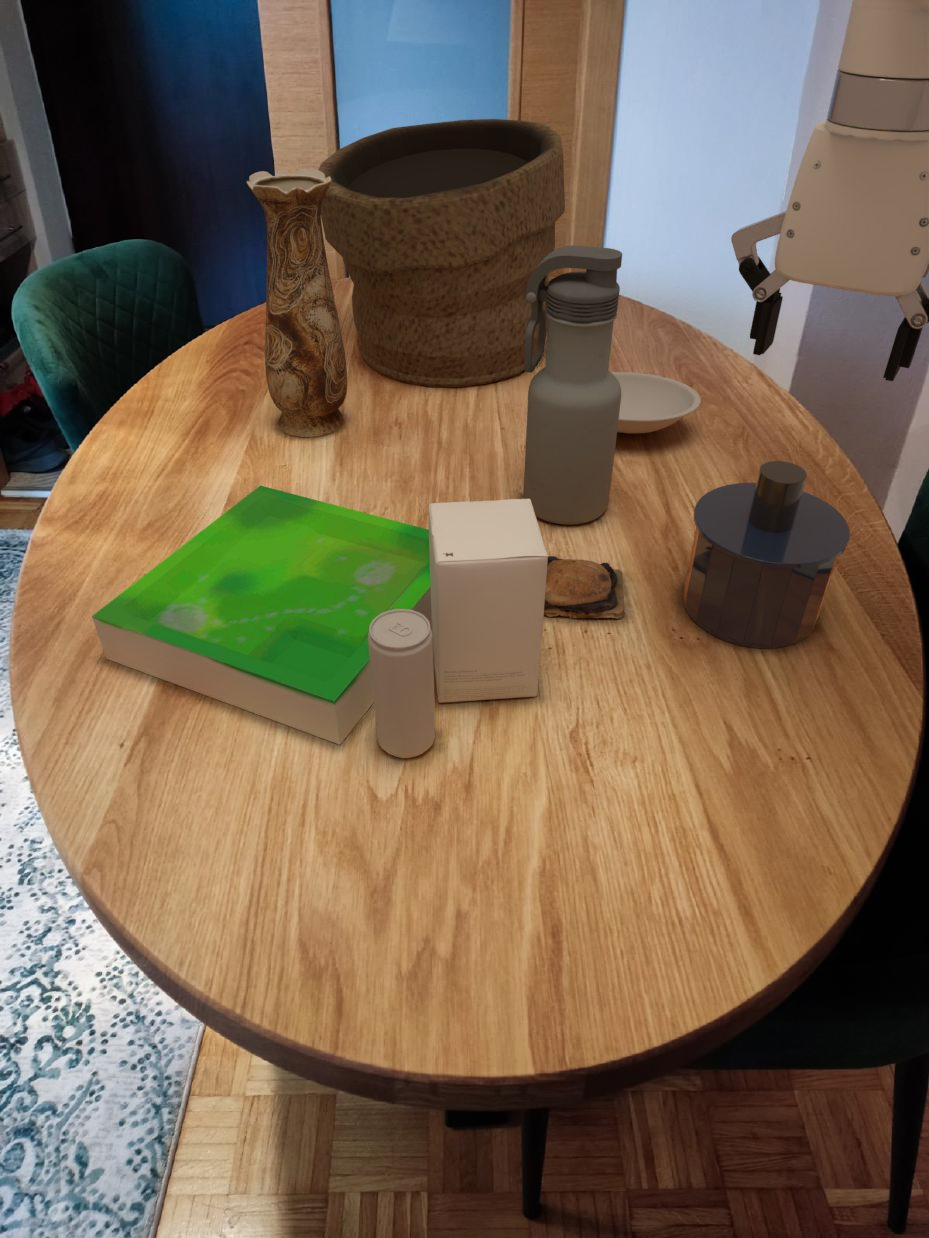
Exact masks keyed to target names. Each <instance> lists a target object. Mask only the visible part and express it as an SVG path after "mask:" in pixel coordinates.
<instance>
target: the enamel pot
mask: <svg viewBox="0 0 929 1238" xmlns="http://www.w3.org/2000/svg"><path fill="white" fill-rule="evenodd" d="M838 557H839V556H838ZM838 557H836V558H835V559H833V560H831V561H829V562H827V563H824V564H821V565H817V566H812V567H805V568H777V567H768V566H763V565H758V564H754V563H750V562H747V561H744V560H741V559H738V558H735V557H733V556H731V555H728V554H726V553H724V552H722V551H721V550H719V549H717V548H716V547H714V546H713V545H711V544H710V543H709V542H708V541H706V540H705V539H704V537H703V536H702V535H701V534H700V533H699V531H698V530H697V528H696V527H695V530H694V534H693V540H692V545H691V551H690V556H689V561H688V567H687V571H686V576H685V581H684V586H683V604H684V609H685V611H686V613H687V614H688V616H689V618H690V619H691V620H692V621H693V622H694V623H695V624H696V625H697V626H698V627H699V628H701V629H702V630H704V632H706V633H708V634H710V635H711V636H712V637H715V638H717V639H719V640H722V641H724V642H726V643H730V644H734V645H737V646H741V647H746V648H751V649H779V648H784V647H788V646H792V645H795V644H797V643H799V642H801V641H803V640H804V639H806V638H807V637H808V636H809V635H810V634H811V633H812V632H813V630H814V628H815V627H816V623H817V621H818V618H819V616H820V614H821V609H822V607H823V604H824V600H825V598H826V595H827V592H828V588H829V586H830V583H831V580H832V576H833V573H834V570H835V567H836V563H837V561H838Z"/></svg>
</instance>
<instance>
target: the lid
mask: <svg viewBox="0 0 929 1238" xmlns="http://www.w3.org/2000/svg"><path fill="white" fill-rule="evenodd" d="M807 477H808V473H807V471H806V470H805V469H804V468H803V467H801V466H800V465H798V464H795V463H793V462H790V461H783V460H771V461H766V462H764V463H762V464H761V465H760V467H759V469H758V474H757V477H756V482H738V483H737V482H736V483H731V484H726V485H721V486H719V487H717V488H714V489H711V490H710V491H708V492H706V493H705V494H703V495H702V496H701V497H700V498H699V499H698V500H697V502H696V503H695V506H694V510H693V523H694V526H695V529H696V528H697V530H698V531H699V533H700V534H701V535H702V536H703V537H704V539H705V540H706V541H708V542H709V543H710V544H711V545H713V546H714V547H716V548H717V549H719V550H721V551H722V552H724V553H726V554H728V555H731V556H733V557H735V558H738V559H741V560H744V561H747V562H750V563H754V564H758V565H763V566H768V567H777V568H805V567H812V566H817V565H821V564H824V563H827V562H829V561H831V560H833V559H835V558H836V557H839V556H841V555H842V553H844V551H845V550H846V549H847V547H848V545H849V541H850V538H851V530H850V526H849V524H848V522H847V520H846V518H845V517H844V516H843V515H842V513H840V512H839V511H838V510H837V509H836V508H835V507H834V506H833V505H831V504H830V503H828V502H826V501H825V500H823V499H821V498H820V497H817V496H815V495H814V494H811V493H808V492H806V491H804V490H805V485H806V481H807Z"/></svg>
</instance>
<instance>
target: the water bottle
mask: <svg viewBox="0 0 929 1238" xmlns="http://www.w3.org/2000/svg"><path fill="white" fill-rule="evenodd" d="M622 260H623V252H621V251H620V250H618V249H615V248H612V247H611V248H610V247H597V246H596V247H595V246H587V245H565V246H562V247H558V248H556V249H554V251H552V252H551V253H549V254H548V255H547V256H546V257H545V258H544V259H543V260H542V261H541V263H540V264H539V265H538V266H537V267H536V269H535V270H534V272H533V273H532V274H531V276H530V278H529V281H528V283H527V289H526V300H527V301H528V302H529V303H532V308H531V321H530V322H529V324H528V326H527V331H526V340H525V363H524V368H525V370H524V372H525V373H530V374H531V373H533V372H534V371H535V370H536V368H537V366H538V364H539V363H540V362H541V360H542V358H543V355H544V352H545V363H544V367H543V368H541V369H540V370H538V371H537V372H536V373H535V374H534V376H533V377H532V378H531V379H530V382H529V385H528V392H527V409H526V410H527V411H526V412H527V413H526V432H525V452H524V470H523V471H524V472H523V473H524V475H523V494H522V496H523V498H522V499H530V500H531V503H532V506H533V509H534V512H535V516H536V518H538V519H541V520H543V521H546V522H548V523H552V524H558V525H570V526H571V525H572V526H573V525H581V524H586V523H589V522H591V521H594V520H596V519H597V518H599V517H600V516H601V515H603V514H604V513H605V512H606V510H607V509H608V506H609V501H610V495H611V487H612V480H613V479H612V477H613V469H614V461H615V452H616V444H617V437H618V432H617V428H618V420H619V411H620V403H621V386H620V383H619V381H618V380H617V378H616V377H615V376H614V375H613V374H612V373H611V372H612V371H610V370H609V368H610V360H611V359H610V358H611V348H612V339H613V331H614V322H615V320H616V319H617V317H618V313H617V312H618V310H619V299H620V298H619V297H620V289H621V287H620V285H619V283H618V282H617V281H618V280H617V279H618V270H619V269H621V268H622ZM561 269H579V270H586V271H571V272H564V273H561V274H559V275H557V276H555V277H553V278H551V279H549V283H548V286H546V285H545V280H546V276H547V274H548V275H549V274H550V273H553V272H555V271H557V270H561ZM543 301H544V302H546V308H547V310H543ZM546 316H547V317H548V328H547V334H546V337H545V330H546ZM538 323H539V333H538V346H537V350H536V354H535V355H534V357H533V358H532V346H533V335H534V330H535V327H536V326H537V324H538ZM545 345H546V348H545Z"/></svg>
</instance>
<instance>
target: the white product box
mask: <svg viewBox="0 0 929 1238" xmlns="http://www.w3.org/2000/svg"><path fill="white" fill-rule="evenodd" d="M427 514H428V529H429V553H430V585H431V618H432V629H431V630H432V637H433V667H434V673H435V674H434V677H435V685H436V693H437V695H436V696H437V700H438V703H454V702H470V701H485V700H487V701H488V700H502V699H515V698H517V699H518V698H534V697H537V696H539V695H538V694H539V683H540V682H539V681H540V667H541V654H542V640H543V639H542V638H543V629H544V628H543V627H544V616H545V615H544V603H545V590H546V577H547V563H548V556H549V555H548V553H547V549H546V546H545V542H544V540H543V536H542V532H541V529H540V526H539V521H538V519H537V516H535V512H534V509H533V506H532V503H531V500H530V499H524V498H511V499H510V498H509V499H498V500H497V499H496V500H495V499H494V500H477V501H475V500H473V501H448V502H447V501H446V502H432V503H430V504H428V513H427Z"/></svg>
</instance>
